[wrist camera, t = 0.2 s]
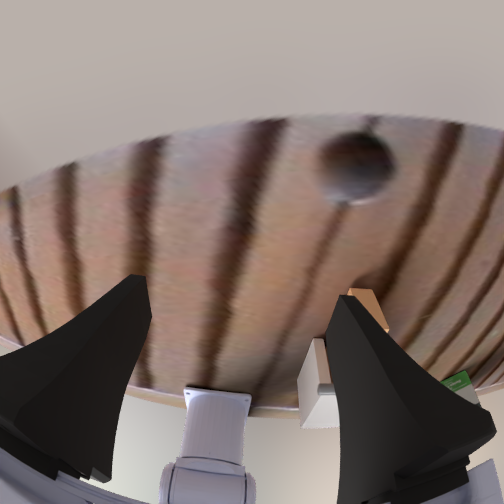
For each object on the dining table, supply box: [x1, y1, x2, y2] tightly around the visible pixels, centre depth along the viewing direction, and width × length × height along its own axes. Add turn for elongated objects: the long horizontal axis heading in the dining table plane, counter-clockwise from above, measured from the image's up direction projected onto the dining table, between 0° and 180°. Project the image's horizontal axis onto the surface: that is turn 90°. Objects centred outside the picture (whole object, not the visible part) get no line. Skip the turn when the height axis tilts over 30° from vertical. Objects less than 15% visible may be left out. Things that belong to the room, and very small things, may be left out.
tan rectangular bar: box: [325, 288, 389, 383], centre depth 23 cm, size 13×2×4 cm, turn 174°
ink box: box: [440, 370, 482, 408], centre depth 27 cm, size 9×5×12 cm, turn 21°
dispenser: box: [297, 338, 340, 429], centre depth 24 cm, size 8×5×6 cm
